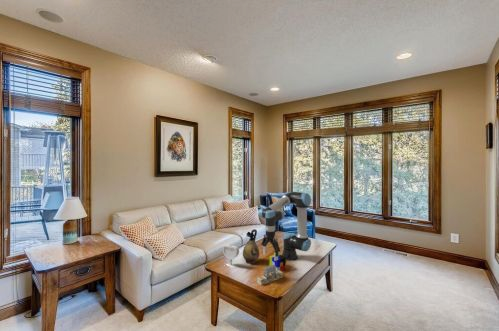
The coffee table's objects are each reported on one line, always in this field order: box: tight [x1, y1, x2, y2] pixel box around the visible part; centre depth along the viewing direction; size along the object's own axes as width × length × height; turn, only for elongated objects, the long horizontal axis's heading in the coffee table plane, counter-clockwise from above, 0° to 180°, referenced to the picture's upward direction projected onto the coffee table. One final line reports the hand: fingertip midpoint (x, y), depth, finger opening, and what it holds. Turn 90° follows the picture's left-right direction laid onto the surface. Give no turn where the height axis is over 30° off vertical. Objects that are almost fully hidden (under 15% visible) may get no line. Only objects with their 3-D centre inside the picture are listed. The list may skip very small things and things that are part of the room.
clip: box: [263, 265, 276, 281], centre depth 186 cm, size 9×3×10 cm, turn 124°
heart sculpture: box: [222, 244, 240, 269], centre depth 212 cm, size 16×5×18 cm, turn 59°
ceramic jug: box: [242, 228, 260, 264], centre depth 221 cm, size 17×15×30 cm
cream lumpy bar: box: [256, 270, 284, 286], centre depth 186 cm, size 22×5×4 cm, turn 124°
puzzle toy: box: [269, 253, 287, 271], centre depth 207 cm, size 10×10×10 cm
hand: (270, 257), depth 186 cm, fingers open, 13 cm apart
